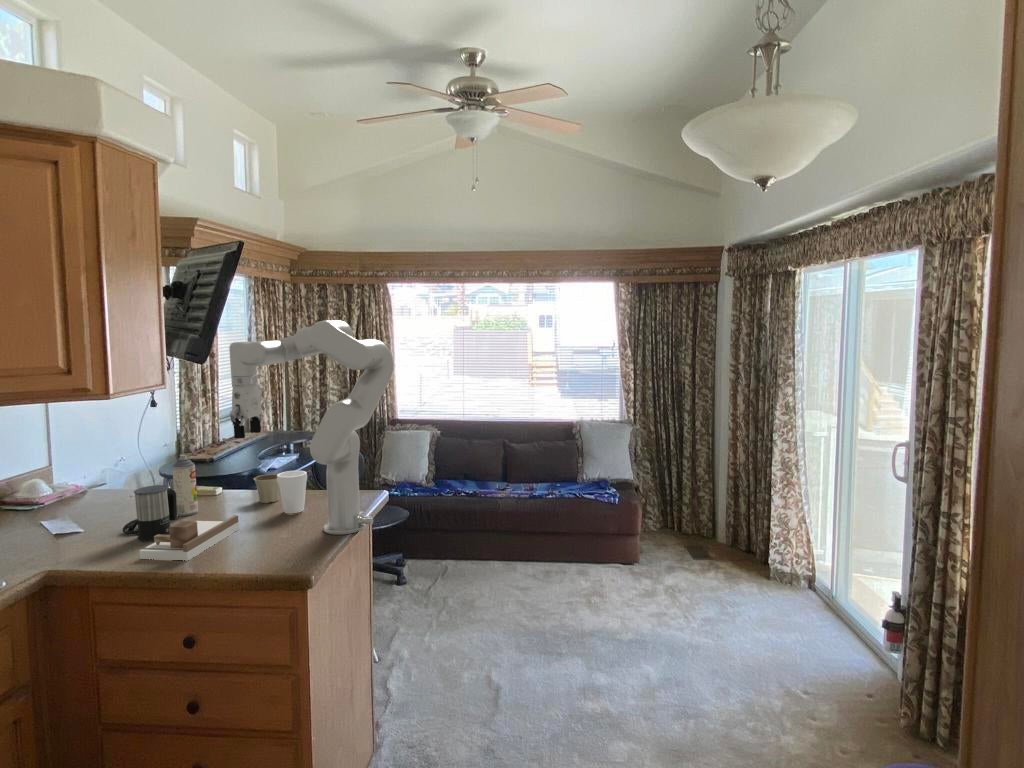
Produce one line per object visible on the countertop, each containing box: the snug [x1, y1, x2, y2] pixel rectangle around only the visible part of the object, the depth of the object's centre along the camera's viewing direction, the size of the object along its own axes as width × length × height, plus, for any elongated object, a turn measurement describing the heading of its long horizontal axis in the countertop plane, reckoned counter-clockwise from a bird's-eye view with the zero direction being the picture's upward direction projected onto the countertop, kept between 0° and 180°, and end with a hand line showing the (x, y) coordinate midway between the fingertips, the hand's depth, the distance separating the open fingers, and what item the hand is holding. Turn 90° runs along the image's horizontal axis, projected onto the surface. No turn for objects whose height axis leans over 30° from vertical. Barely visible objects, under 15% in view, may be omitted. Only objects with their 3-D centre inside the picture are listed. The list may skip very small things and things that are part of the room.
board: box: [139, 514, 240, 562], centre depth 190 cm, size 14×26×4 cm, turn 173°
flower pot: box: [253, 473, 280, 504], centre depth 234 cm, size 9×9×9 cm
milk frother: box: [122, 484, 178, 542], centre depth 199 cm, size 14×16×15 cm
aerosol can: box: [172, 454, 199, 517], centre depth 220 cm, size 7×7×20 cm
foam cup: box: [277, 470, 308, 514], centre depth 220 cm, size 10×9×13 cm
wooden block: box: [153, 520, 198, 548], centre depth 182 cm, size 11×5×6 cm, turn 83°
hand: (248, 435), depth 206 cm, fingers open, 9 cm apart
